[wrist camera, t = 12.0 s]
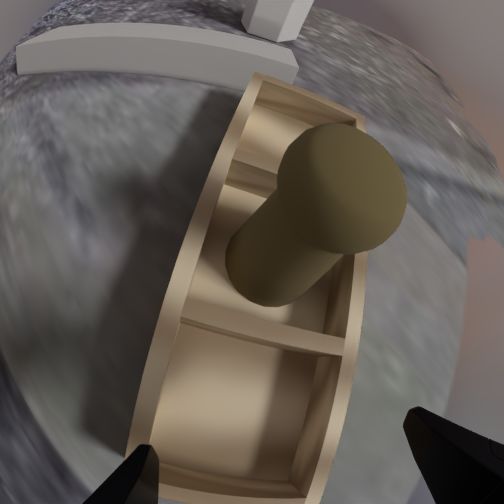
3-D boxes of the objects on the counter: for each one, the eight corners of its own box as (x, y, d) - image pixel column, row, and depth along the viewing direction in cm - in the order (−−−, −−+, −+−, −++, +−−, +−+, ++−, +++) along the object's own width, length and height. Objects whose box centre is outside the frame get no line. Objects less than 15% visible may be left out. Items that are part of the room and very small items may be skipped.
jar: (268, 18, 35) (290, -36, 24) (304, 40, 34) (332, -18, 24) (228, 23, 32) (248, -41, 21) (266, 45, 31) (294, -25, 20)
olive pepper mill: (326, 284, 19) (449, 215, 9) (250, 323, 17) (355, 275, 7) (286, 210, 20) (370, 99, 10) (209, 236, 18) (252, 104, 8)
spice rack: (292, 486, 14) (316, 509, 11) (130, 461, 13) (120, 486, 9) (345, 142, 27) (364, 117, 23) (244, 102, 25) (254, 71, 21)
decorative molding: (58, 54, 26) (17, 78, 20) (59, 26, 23) (16, 46, 16) (279, 79, 33) (283, 106, 27) (291, 49, 29) (299, 67, 23)
